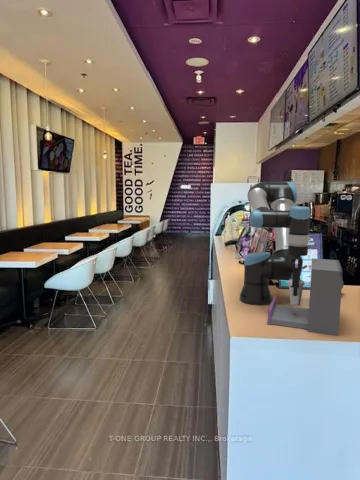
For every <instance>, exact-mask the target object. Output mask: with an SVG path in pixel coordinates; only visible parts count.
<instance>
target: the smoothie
mask: <svg viewBox="0 0 360 480" xmlns="http://www.w3.org/2000/svg"><path fill="white" fill-rule="evenodd" d="M287 284H288V288H289V290H288V291H289V302H290V303H289V304H290V305H291V306H295V307H298V306H300V305H301V300H302V294H303V290H304V285H305V281H304V280H302V279H300V280H299V301H298V304H295V303H291V297H292V287H290V286H292V279H291V280H287Z"/></svg>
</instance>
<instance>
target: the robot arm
mask: <svg viewBox="0 0 360 480" xmlns="http://www.w3.org/2000/svg"><path fill="white" fill-rule="evenodd" d="M297 198H298V196H297V187H296V185H295V183H294V182H292V181H261V182H257V183H255V184H253V186H251V187H250V188H249V190H248V191H247V201H248V202H249V204H250V205H251V211H250V213H249V225H250V226H251V228H259V229H260V228H261V229H263V228H271V229H274V236H275V239H274V241H275V250H274V251H273V253H272V255H271V254H270V252H268V251H256V252H251V253H247V254H246V255H245V257H244V264H243V265H244V271H243V273H244V275H243V285H242V288H241V291H240V293H239V300H240V302H242V303H244V304H248V305H255V306H256V305H258V306H262V305H263V306H264V305H268V304H271V302H272V300H273V298H272V293H271V290H270V286H269V285H270V284H269V282H270V281H288V280H291V279H292V286H290V287H292V297H291V303H295V304H298V301H299V280H301V276H302V271H303V262H304V259H303V257H304V256H305V257H306V256H307V255H308V254H309V253H308V251H309V246H308V245H309V240H311V237H310V236H309V235H310V234H309V233H310V232H309V231H310V217H311V212H310V211H311V209H310V207H308V206H295V204H296V203H297ZM269 205H270V206H269Z"/></svg>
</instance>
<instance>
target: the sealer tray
mask: <svg viewBox="0 0 360 480" xmlns="http://www.w3.org/2000/svg"><path fill="white" fill-rule="evenodd" d="M308 318H309V308H306V307H298V306H288V305H279V304H277V296H273V298H272V302H271V303H270V305H269V307H268V309H267V324H268V325H275V326H277V325H278V326H282V327H283V326H284V327H290V328H292V327H293V328H297V329H306V330H308Z"/></svg>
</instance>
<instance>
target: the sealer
mask: <svg viewBox="0 0 360 480" xmlns="http://www.w3.org/2000/svg"><path fill="white" fill-rule="evenodd" d="M343 274H344V271H343V268H342V266H341V262H340V260H338V259H329V258H327V259H325V258H311V270H310V286H309V287H310V288H309V300H308V301H309V306H308V309H309V318H308V329H307V332H310V333H316V334H324V335H330V336H331V335H332V336H339V330H340V329H339V328H340V316H341V315H340V313H341V303H342V302H341V300H342V290H343V288H342V280H343V276H344V275H343Z"/></svg>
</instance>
